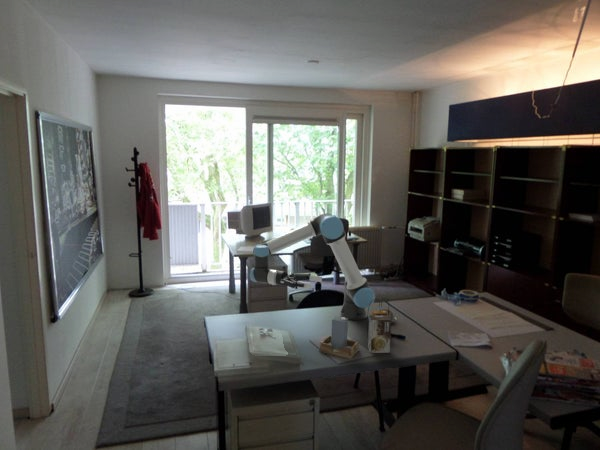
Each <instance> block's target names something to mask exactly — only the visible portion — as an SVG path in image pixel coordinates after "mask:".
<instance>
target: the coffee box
mask: <svg viewBox="0 0 600 450" xmlns="http://www.w3.org/2000/svg"><path fill="white" fill-rule="evenodd" d="M389 316H390V315H389ZM389 316H388V315H372V314H371V315H369V314H368V337H367V341H368V343H367V349H368V351H369V353H371V354H382V353H383V354H385V353H386V354H390V350H391V333H390V330H391V331H392V329H391V326H392V323H391V322H392V320H391V319H392V318H390V317H389Z"/></svg>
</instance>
